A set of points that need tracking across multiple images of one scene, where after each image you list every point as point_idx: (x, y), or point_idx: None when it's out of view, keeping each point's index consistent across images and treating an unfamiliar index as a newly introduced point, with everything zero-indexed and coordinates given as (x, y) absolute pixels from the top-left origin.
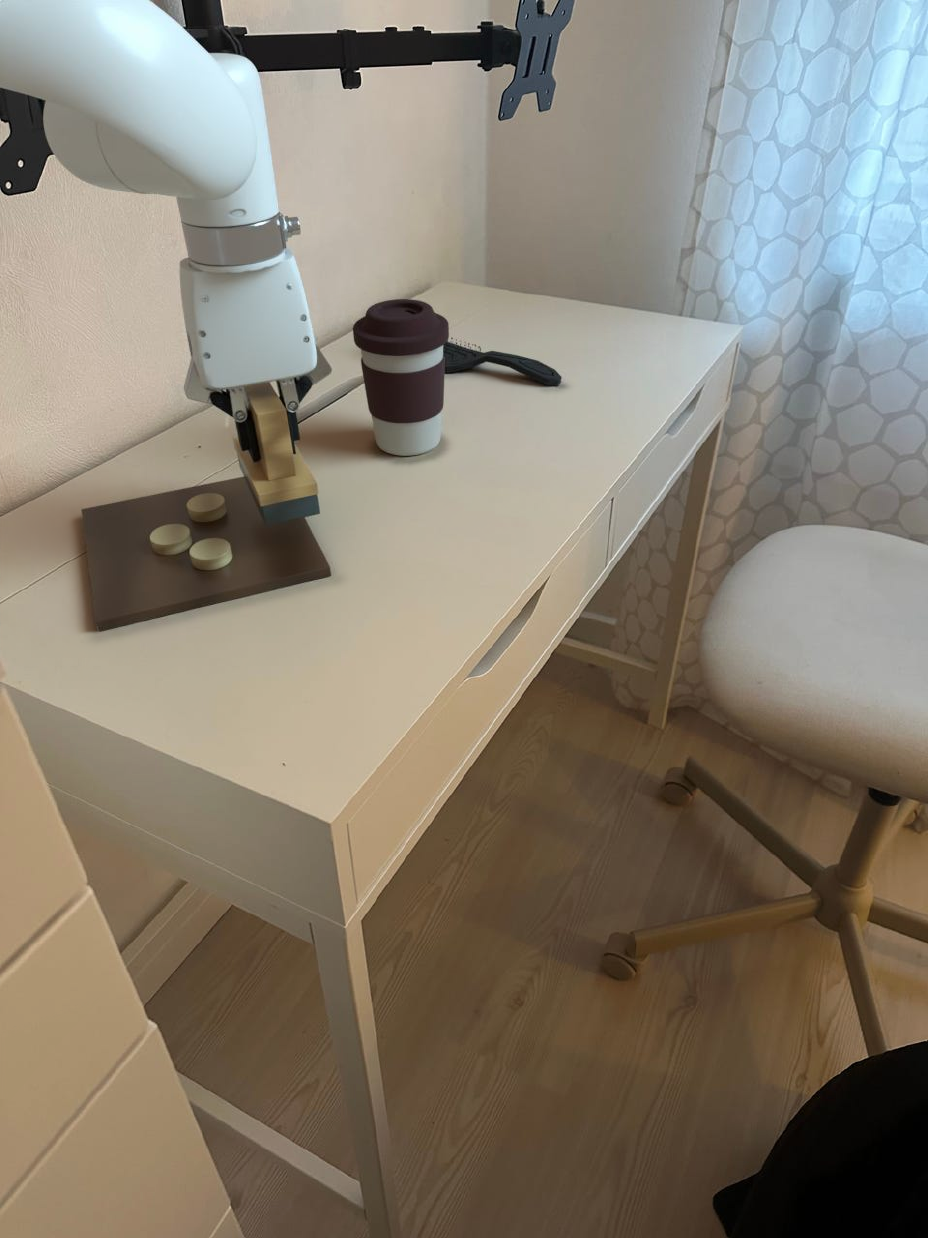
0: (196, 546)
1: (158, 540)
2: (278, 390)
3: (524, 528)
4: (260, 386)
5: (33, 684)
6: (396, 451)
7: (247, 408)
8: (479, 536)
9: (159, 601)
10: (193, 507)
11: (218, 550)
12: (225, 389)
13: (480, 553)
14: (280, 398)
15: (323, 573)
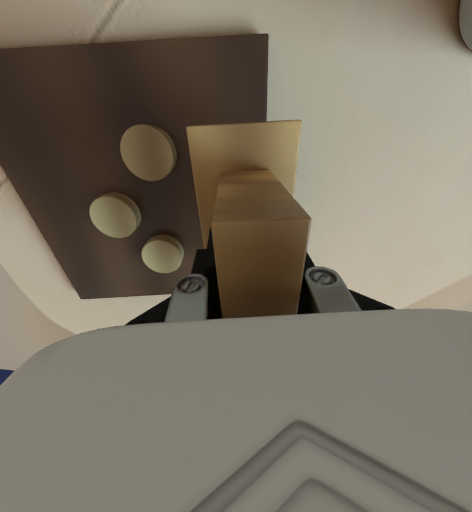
0: (147, 250)
1: (103, 227)
2: (308, 298)
3: (429, 271)
4: (268, 291)
5: (61, 324)
6: (468, 40)
7: (219, 309)
8: (391, 270)
9: (126, 291)
10: (131, 164)
11: (170, 263)
12: (166, 317)
13: (374, 289)
14: (300, 302)
15: None
